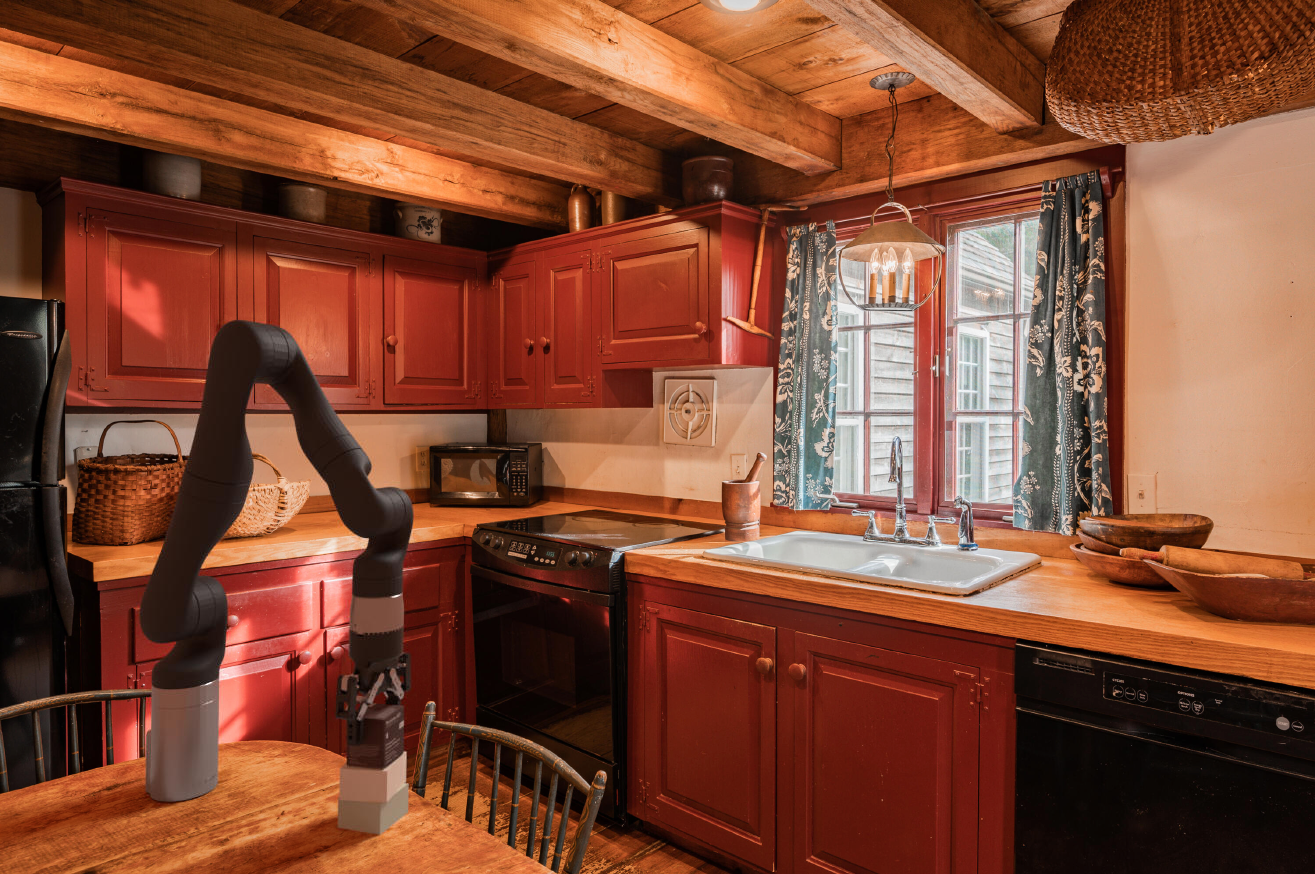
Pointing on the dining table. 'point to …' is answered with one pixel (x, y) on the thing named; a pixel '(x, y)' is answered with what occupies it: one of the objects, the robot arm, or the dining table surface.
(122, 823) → the dining table surface
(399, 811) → the tower base
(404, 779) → the tower top
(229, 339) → the robot arm
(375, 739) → the box
